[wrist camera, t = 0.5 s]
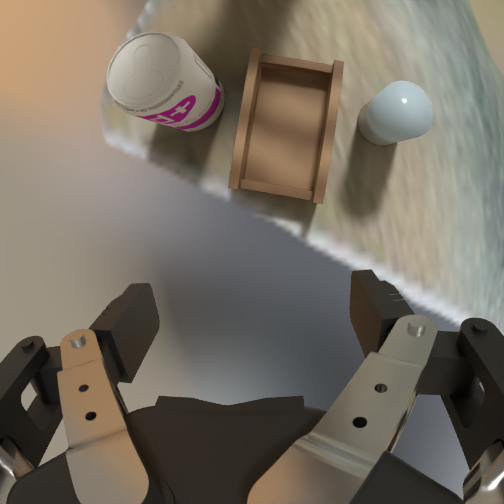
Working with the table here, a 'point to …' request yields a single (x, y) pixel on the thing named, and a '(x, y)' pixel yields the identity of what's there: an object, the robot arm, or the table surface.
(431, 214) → the table surface
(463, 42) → the table surface
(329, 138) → the wooden serving tray
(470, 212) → the table surface
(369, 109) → the domed pale cylinder
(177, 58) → the supplement can
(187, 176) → the table surface
